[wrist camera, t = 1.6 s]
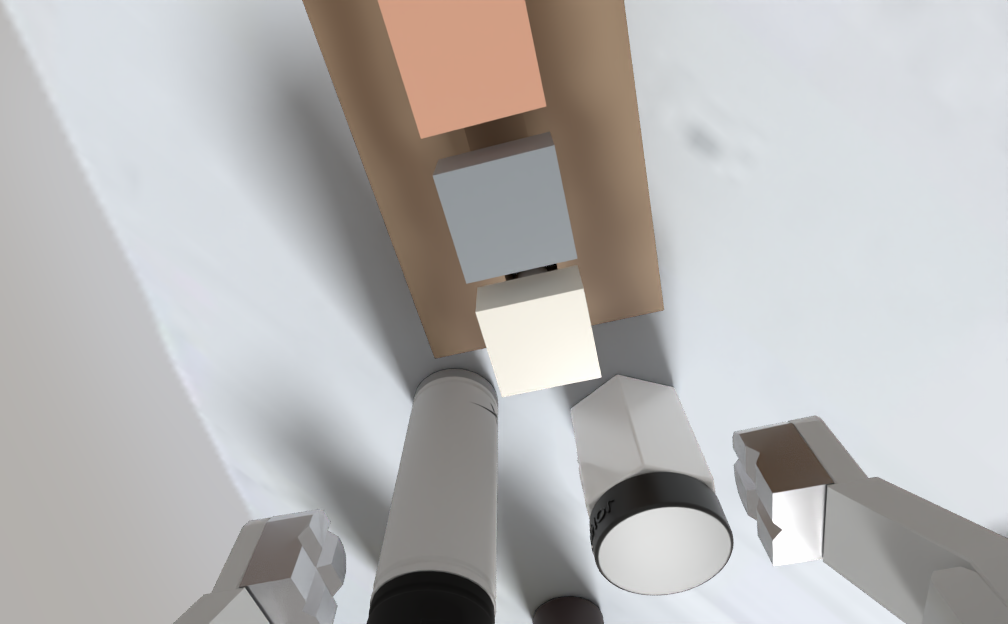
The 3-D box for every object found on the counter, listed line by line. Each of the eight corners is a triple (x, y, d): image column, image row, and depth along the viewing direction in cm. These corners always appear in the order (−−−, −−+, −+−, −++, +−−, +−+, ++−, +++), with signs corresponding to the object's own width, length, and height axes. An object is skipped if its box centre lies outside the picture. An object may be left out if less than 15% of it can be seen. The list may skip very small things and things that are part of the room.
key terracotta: (512, -36, 26) (515, -44, 20) (536, 79, 28) (546, 106, 22) (407, -6, 27) (376, -3, 20) (439, 104, 29) (421, 138, 23)
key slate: (542, 109, 29) (554, 145, 23) (561, 202, 32) (577, 258, 25) (447, 134, 30) (432, 175, 23) (473, 223, 32) (466, 283, 26)
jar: (561, 384, 43) (580, 514, 32) (671, 361, 42) (729, 487, 31) (584, 471, 47) (607, 610, 36) (685, 451, 46) (739, 589, 35)
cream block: (567, 227, 32) (583, 288, 26) (582, 304, 35) (601, 377, 28) (480, 247, 33) (475, 312, 26) (502, 321, 35) (501, 397, 29)
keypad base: (594, -82, 29) (611, -94, 24) (645, 273, 38) (664, 310, 34) (330, -4, 30) (301, -2, 26) (442, 317, 40) (434, 358, 35)
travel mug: (508, 372, 42) (512, 645, 25) (487, 439, 45) (478, 724, 28) (423, 355, 41) (365, 624, 24) (408, 424, 44) (347, 707, 27)
